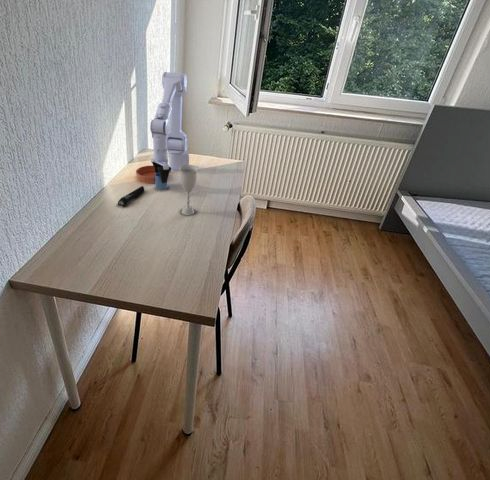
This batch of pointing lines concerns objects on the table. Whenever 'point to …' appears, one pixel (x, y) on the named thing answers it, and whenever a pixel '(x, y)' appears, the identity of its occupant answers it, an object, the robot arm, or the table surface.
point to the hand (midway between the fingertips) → (161, 179)
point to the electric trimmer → (130, 196)
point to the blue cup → (158, 183)
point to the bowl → (146, 174)
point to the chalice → (188, 185)
